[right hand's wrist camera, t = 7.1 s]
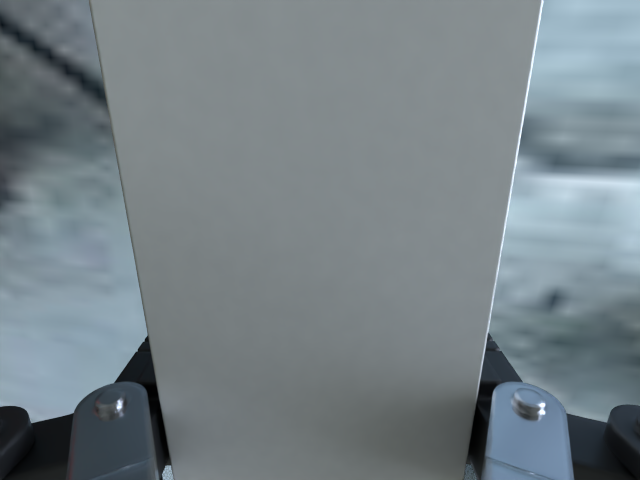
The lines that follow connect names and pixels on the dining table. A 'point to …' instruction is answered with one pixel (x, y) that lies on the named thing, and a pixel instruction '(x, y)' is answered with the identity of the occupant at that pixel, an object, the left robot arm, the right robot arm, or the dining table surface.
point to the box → (317, 222)
